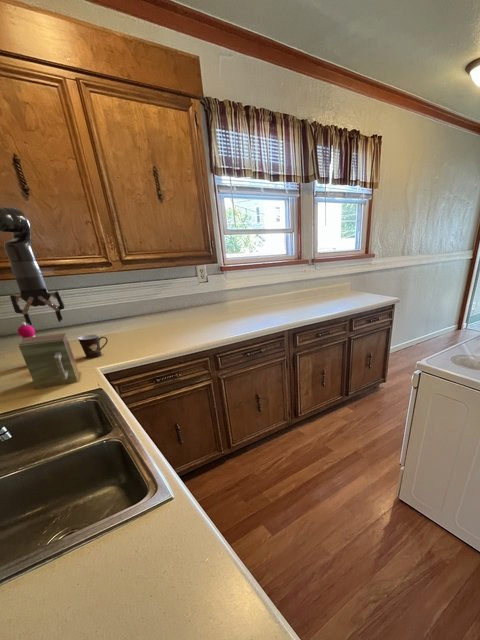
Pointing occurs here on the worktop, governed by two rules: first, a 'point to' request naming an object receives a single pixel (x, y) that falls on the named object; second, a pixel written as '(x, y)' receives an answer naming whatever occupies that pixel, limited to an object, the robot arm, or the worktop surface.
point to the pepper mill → (26, 331)
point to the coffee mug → (91, 345)
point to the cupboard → (53, 338)
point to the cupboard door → (48, 363)
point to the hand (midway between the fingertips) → (45, 322)
